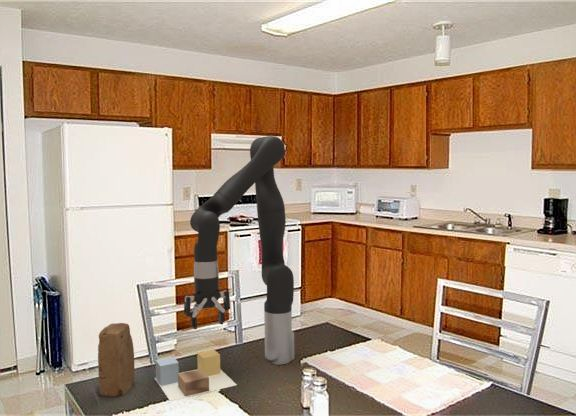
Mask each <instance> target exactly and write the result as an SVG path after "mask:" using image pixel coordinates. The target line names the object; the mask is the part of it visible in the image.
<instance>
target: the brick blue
mask: <svg viewBox="0 0 576 416" xmlns="http://www.w3.org/2000/svg"><path fill="white" fill-rule="evenodd" d="M179 364H180V363H179V361H178V360H177V359H176V357H174V356H169V357H163V358H158V359H155V378H156V380H157V381H158V383H159V384H160V385H161V386H163V385H167V384H172V383H176V382H178V374H179V373H180V368H179ZM156 380H155V381H156ZM157 381H156V382H157ZM158 383H157V384H158ZM159 384H158V385H159Z"/></svg>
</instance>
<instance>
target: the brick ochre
mask: <svg viewBox="0 0 576 416" xmlns="http://www.w3.org/2000/svg"><path fill="white" fill-rule="evenodd" d="M196 356H197V358H196V360H197V361H196V362H197V369H201V370H202V371H203V372H204V373H205V374H206V375H207V376H211V375H216V374H220V369H221V354H219V352H217V351H216V350H215V349H214V348H213V349H207V350H204V351H203V350H202V351H198V352H197V353H196Z"/></svg>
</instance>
